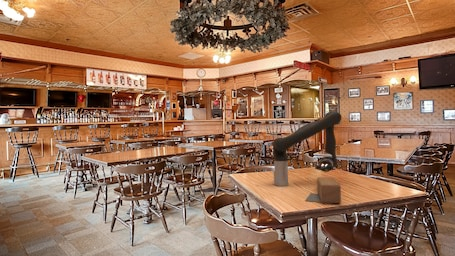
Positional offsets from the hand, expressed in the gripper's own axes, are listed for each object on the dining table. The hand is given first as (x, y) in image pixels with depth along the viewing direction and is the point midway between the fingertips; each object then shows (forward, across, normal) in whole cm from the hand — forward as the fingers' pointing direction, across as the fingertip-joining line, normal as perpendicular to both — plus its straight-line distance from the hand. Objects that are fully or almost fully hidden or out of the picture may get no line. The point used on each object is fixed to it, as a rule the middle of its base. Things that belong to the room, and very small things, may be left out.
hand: (322, 169), depth 162 cm
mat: (+10, 0, +15) cm, 18 cm away
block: (-1, +1, +10) cm, 10 cm away
